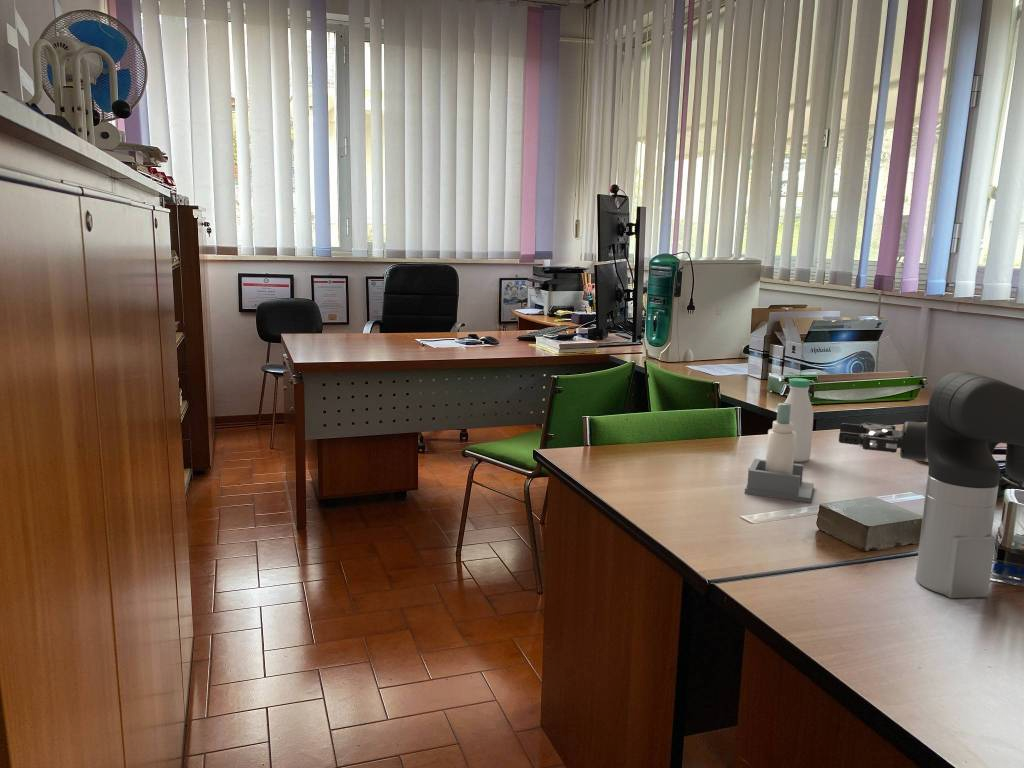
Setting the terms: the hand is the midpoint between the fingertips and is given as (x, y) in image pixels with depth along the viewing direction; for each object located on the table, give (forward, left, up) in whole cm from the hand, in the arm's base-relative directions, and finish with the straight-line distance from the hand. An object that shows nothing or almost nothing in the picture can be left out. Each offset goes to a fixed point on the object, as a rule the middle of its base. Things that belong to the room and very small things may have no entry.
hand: (839, 432), depth 153 cm
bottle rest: (+5, +10, -14) cm, 18 cm away
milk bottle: (+29, -5, -14) cm, 33 cm away
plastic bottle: (+5, +10, -13) cm, 17 cm away
